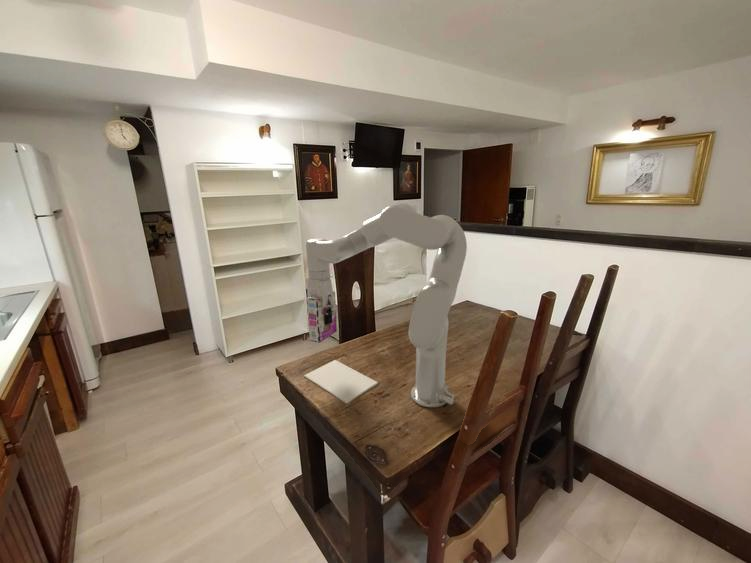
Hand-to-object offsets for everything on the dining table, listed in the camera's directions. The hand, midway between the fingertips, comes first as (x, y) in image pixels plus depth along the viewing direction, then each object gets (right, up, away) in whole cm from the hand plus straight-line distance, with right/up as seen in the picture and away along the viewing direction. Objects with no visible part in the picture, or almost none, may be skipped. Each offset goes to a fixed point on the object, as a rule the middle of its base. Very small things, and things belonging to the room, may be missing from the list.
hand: (322, 321), depth 119 cm
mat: (+6, -22, +1) cm, 23 cm away
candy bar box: (0, -6, +2) cm, 6 cm away
